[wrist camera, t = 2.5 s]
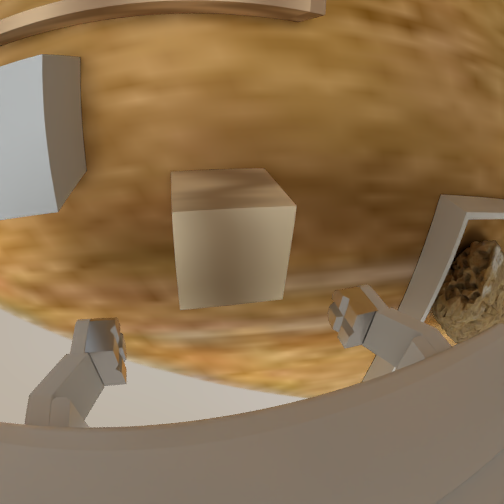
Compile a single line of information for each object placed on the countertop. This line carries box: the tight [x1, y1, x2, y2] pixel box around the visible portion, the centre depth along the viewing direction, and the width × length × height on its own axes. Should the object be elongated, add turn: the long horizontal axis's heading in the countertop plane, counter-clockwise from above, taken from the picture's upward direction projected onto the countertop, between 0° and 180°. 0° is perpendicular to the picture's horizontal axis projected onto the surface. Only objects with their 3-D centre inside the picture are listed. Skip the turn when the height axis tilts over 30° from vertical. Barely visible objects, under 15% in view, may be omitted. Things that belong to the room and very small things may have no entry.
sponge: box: [432, 240, 504, 344], centre depth 27 cm, size 13×8×20 cm
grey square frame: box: [362, 194, 504, 382], centre depth 29 cm, size 24×24×3 cm
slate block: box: [0, 54, 87, 220], centre depth 10 cm, size 6×6×5 cm
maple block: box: [171, 168, 297, 310], centre depth 16 cm, size 5×5×5 cm
